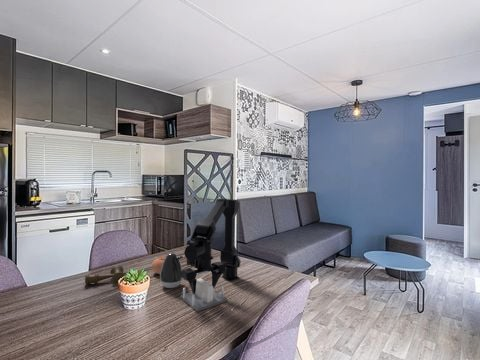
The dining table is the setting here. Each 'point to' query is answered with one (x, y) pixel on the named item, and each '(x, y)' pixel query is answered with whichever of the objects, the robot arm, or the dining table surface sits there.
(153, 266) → the tomato
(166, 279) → the pump dispenser
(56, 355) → the dining table surface
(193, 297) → the rack
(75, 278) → the dining table surface
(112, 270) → the kendama
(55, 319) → the dining table surface
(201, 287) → the tile
